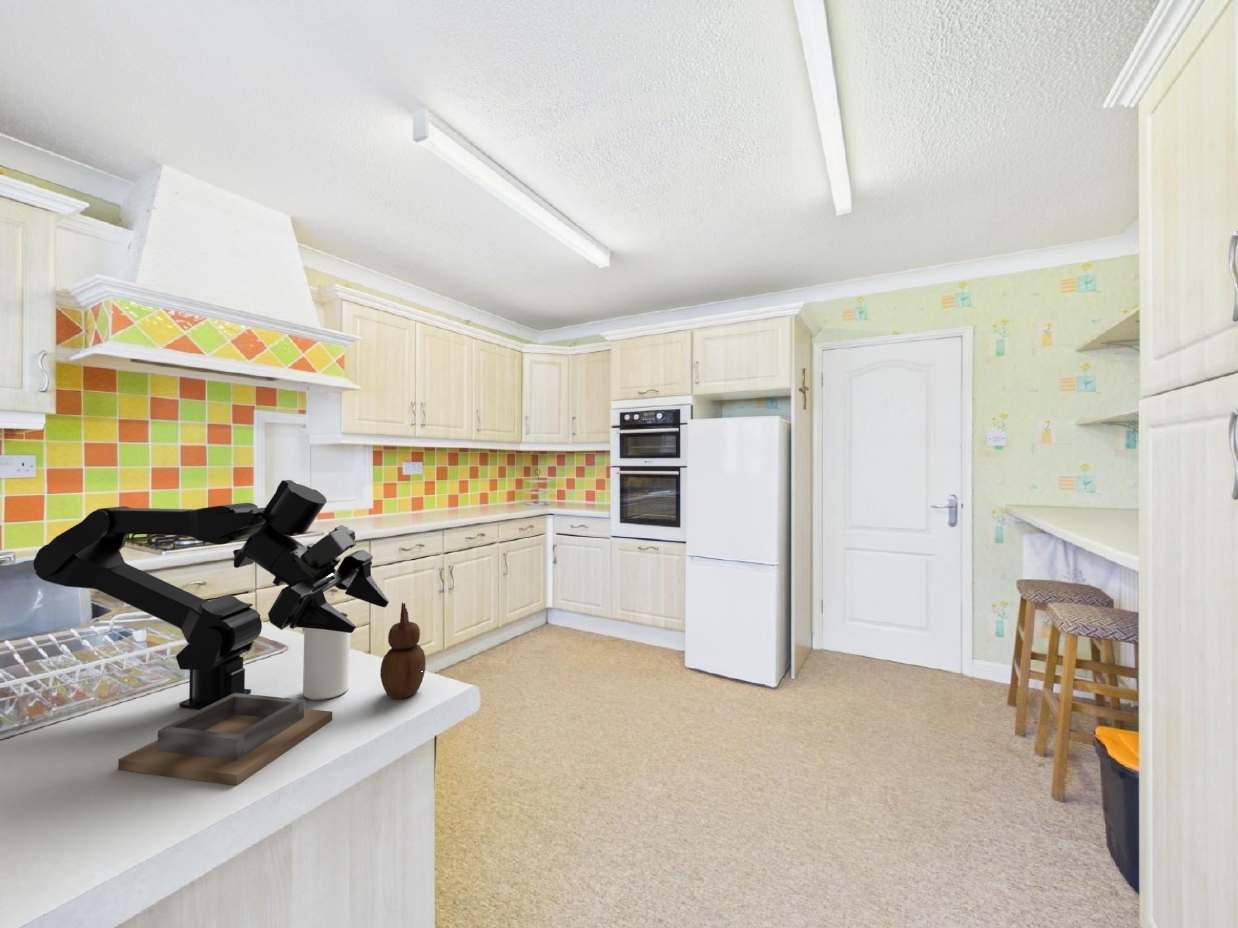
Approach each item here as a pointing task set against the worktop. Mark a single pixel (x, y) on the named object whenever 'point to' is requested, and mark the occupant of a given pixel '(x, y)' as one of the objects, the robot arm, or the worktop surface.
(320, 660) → the can
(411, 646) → the wooden figurine
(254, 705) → the holder
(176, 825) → the worktop surface
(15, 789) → the worktop surface
